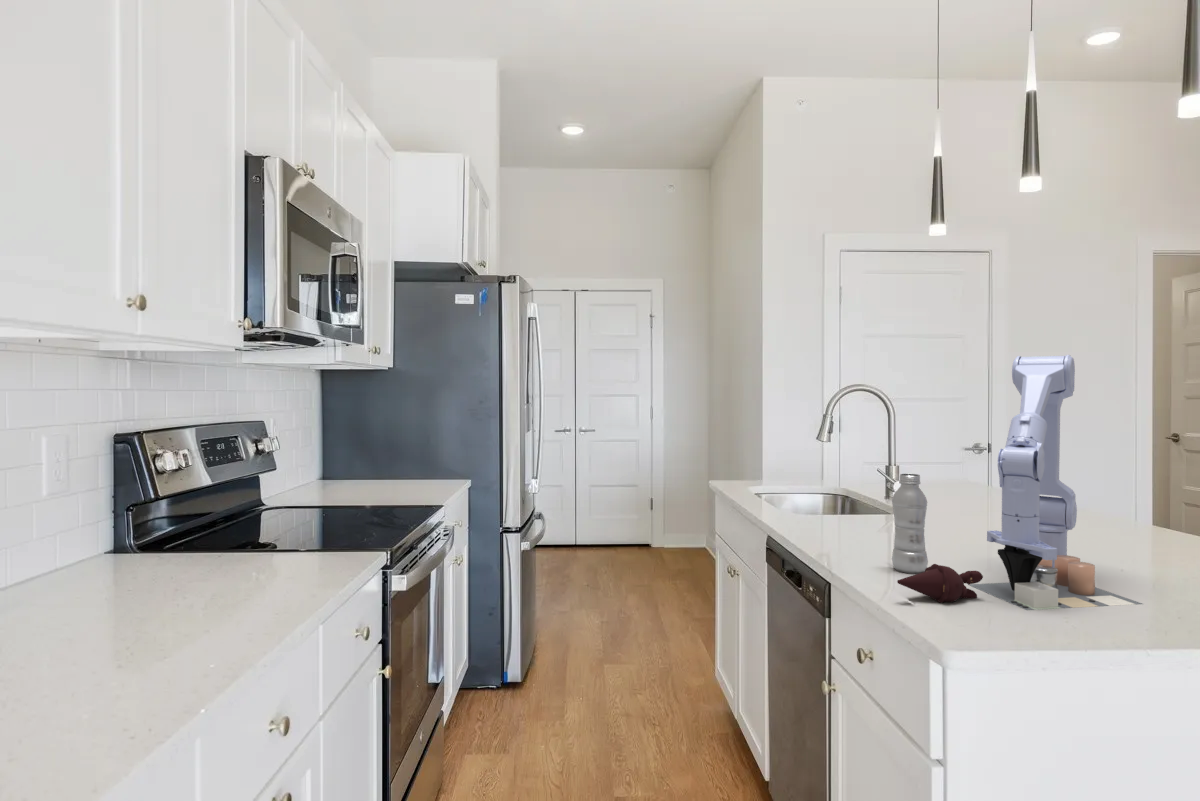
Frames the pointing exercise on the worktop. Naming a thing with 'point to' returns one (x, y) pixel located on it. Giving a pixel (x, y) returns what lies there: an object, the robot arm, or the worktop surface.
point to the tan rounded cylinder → (1081, 578)
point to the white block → (1036, 595)
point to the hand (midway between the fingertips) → (1019, 590)
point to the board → (1064, 597)
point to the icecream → (942, 583)
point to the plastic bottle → (909, 526)
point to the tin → (1045, 575)
